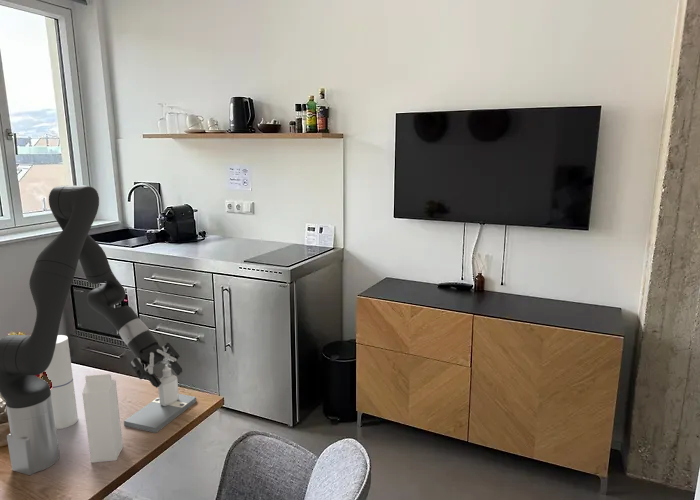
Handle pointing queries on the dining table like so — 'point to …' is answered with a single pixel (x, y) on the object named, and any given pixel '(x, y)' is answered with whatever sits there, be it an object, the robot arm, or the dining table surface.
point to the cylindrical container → (62, 385)
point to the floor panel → (158, 414)
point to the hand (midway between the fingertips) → (170, 379)
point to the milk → (102, 418)
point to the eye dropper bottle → (168, 387)
